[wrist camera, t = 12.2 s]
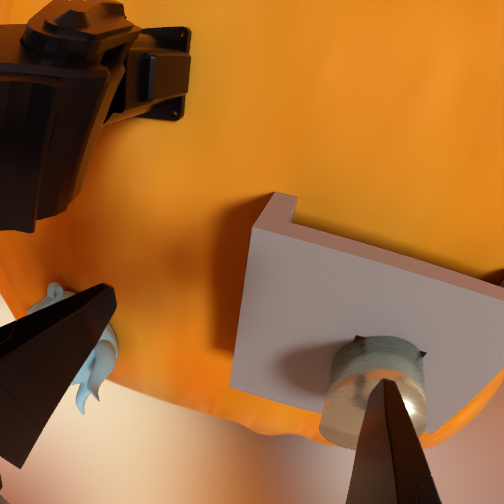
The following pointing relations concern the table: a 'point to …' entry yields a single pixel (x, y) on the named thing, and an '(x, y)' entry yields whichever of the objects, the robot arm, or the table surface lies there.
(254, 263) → the base
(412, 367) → the grey beige cylinder
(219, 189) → the table surface
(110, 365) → the teapot
